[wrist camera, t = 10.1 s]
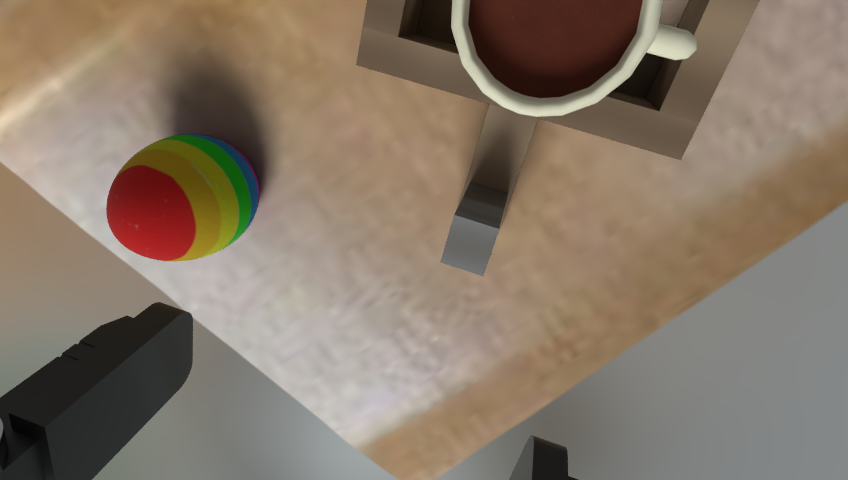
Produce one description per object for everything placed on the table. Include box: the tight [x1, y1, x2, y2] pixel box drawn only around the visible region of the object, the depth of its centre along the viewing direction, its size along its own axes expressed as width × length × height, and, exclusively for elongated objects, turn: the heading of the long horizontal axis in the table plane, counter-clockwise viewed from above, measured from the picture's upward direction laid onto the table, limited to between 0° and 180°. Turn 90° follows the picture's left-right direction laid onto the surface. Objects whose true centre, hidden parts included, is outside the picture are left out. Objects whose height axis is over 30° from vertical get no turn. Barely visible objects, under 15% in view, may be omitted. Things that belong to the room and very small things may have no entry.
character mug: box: [451, 0, 697, 117], centre depth 23 cm, size 11×7×13 cm, turn 76°
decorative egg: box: [106, 134, 259, 261], centre depth 33 cm, size 8×8×10 cm
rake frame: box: [356, 0, 759, 276], centre depth 26 cm, size 26×18×7 cm
